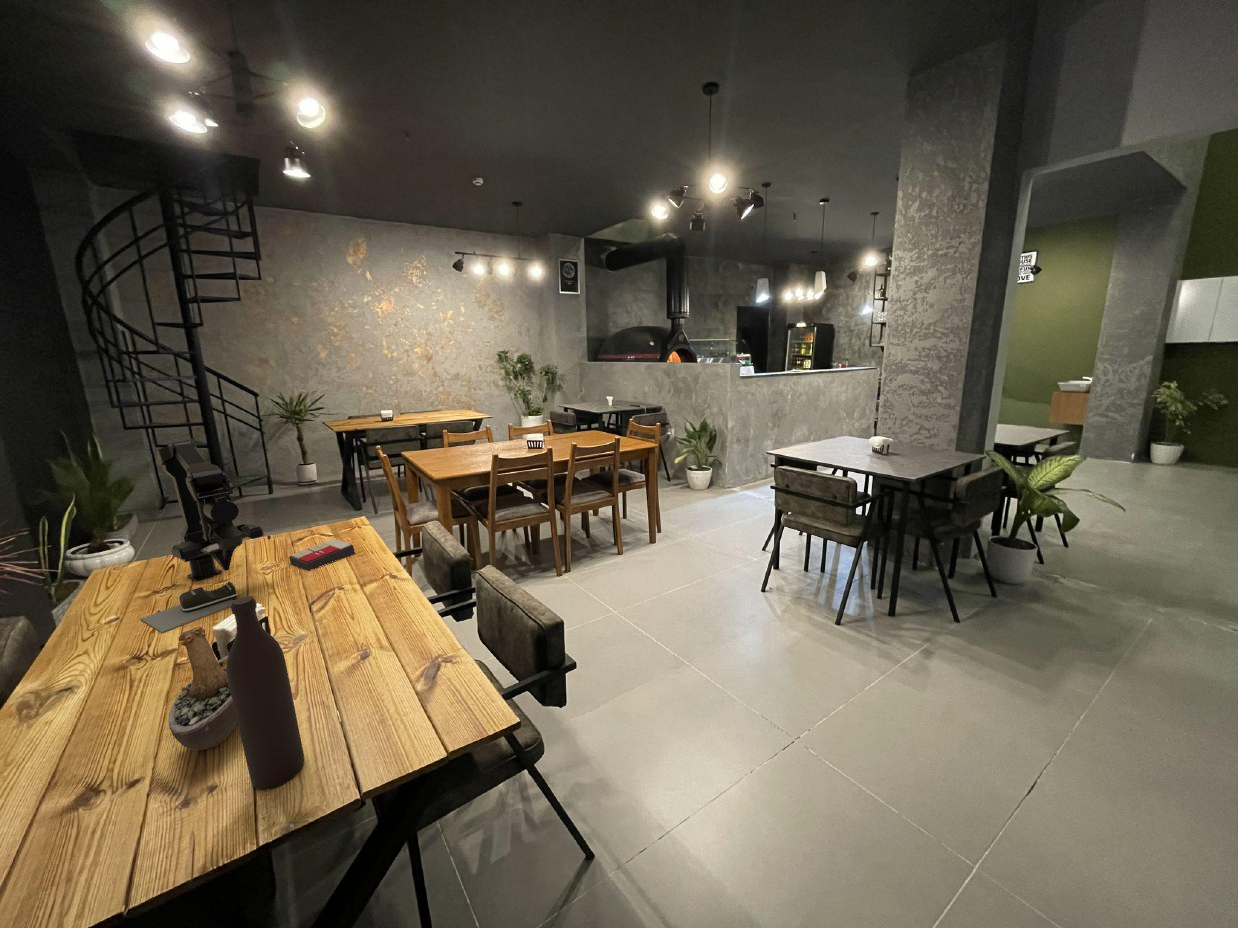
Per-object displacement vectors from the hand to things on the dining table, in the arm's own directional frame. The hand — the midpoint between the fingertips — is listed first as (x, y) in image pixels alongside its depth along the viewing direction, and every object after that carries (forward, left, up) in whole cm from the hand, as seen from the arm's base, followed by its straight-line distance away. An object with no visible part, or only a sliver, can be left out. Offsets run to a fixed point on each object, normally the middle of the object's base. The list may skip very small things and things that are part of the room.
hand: (226, 570), depth 134 cm
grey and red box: (-3, +27, -9) cm, 28 cm away
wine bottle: (+75, -25, -8) cm, 80 cm away
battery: (0, +1, -6) cm, 6 cm away
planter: (+56, -25, -8) cm, 62 cm away
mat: (0, -9, -8) cm, 12 cm away
